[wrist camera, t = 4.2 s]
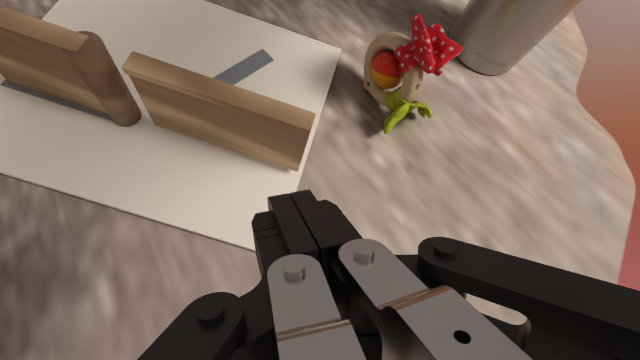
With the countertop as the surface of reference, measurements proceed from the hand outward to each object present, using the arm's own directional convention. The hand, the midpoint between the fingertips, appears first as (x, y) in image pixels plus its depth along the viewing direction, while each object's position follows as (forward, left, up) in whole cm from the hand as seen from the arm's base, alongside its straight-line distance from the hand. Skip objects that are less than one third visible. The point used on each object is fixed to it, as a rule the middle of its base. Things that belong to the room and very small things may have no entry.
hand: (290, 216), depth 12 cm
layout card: (-13, -14, -17) cm, 26 cm away
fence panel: (-9, -7, -15) cm, 19 cm away
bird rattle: (-20, +6, -17) cm, 27 cm away
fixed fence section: (-9, -21, -16) cm, 28 cm away
